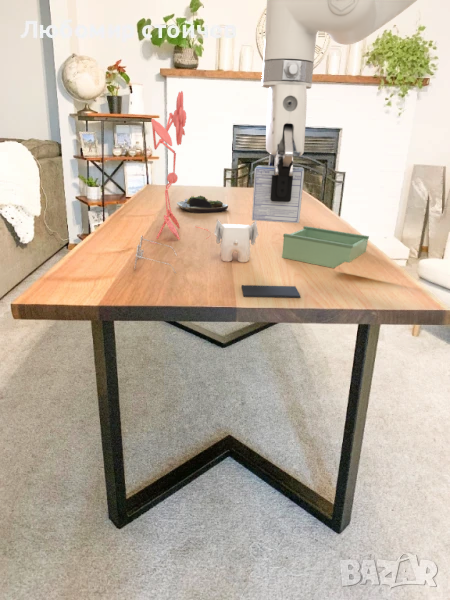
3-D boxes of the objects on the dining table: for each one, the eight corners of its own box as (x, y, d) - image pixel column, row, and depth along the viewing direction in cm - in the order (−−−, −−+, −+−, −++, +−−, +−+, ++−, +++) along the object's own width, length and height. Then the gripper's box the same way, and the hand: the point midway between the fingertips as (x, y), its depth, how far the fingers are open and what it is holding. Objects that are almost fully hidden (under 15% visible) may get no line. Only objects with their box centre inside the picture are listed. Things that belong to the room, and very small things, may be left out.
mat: (295, 288, 82) (295, 286, 82) (300, 298, 78) (300, 295, 77) (241, 287, 82) (241, 285, 82) (243, 296, 77) (243, 294, 77)
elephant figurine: (254, 251, 106) (257, 214, 102) (257, 266, 94) (259, 225, 91) (214, 249, 106) (216, 212, 102) (212, 264, 94) (213, 223, 91)
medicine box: (299, 219, 76) (304, 167, 73) (299, 224, 72) (304, 169, 69) (254, 216, 77) (257, 164, 74) (251, 221, 73) (254, 166, 70)
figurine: (148, 247, 106) (144, 85, 93) (160, 224, 130) (157, 93, 117) (213, 248, 107) (216, 88, 94) (212, 226, 131) (215, 96, 118)
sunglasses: (139, 254, 99) (142, 233, 98) (176, 260, 101) (179, 239, 99) (132, 273, 87) (135, 249, 85) (175, 280, 88) (179, 256, 86)
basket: (365, 259, 102) (369, 236, 100) (348, 271, 93) (351, 245, 91) (302, 247, 111) (305, 226, 109) (281, 257, 101) (283, 234, 99)
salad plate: (166, 204, 163) (165, 192, 161) (210, 202, 170) (210, 190, 169) (186, 214, 147) (186, 200, 145) (233, 211, 154) (234, 198, 153)
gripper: (325, 71, 59) (311, 208, 66) (300, 83, 75) (291, 192, 82) (269, 69, 59) (260, 206, 65) (256, 81, 75) (250, 190, 81)
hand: (277, 197), depth 73 cm, fingers closed on medicine box, 5 cm apart
